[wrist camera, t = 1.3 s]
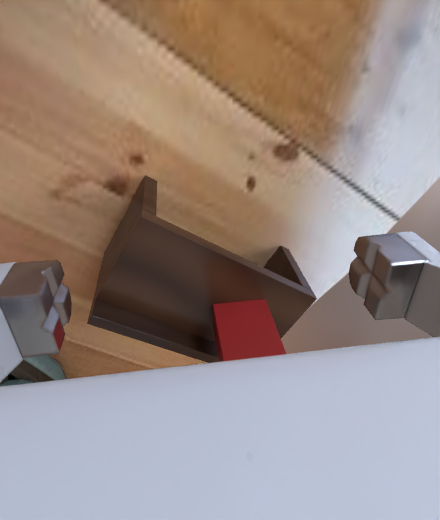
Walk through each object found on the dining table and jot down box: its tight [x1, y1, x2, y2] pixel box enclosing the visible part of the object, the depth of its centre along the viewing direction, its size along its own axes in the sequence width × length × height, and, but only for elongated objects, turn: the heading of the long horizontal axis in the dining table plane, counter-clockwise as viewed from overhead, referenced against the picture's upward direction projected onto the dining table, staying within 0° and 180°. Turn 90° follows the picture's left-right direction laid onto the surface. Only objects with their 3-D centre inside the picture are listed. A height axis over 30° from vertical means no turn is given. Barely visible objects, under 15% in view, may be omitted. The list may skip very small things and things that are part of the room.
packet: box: [213, 299, 286, 362], centre depth 37 cm, size 4×6×10 cm, turn 91°
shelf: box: [87, 175, 317, 363], centre depth 44 cm, size 12×22×14 cm, turn 58°
